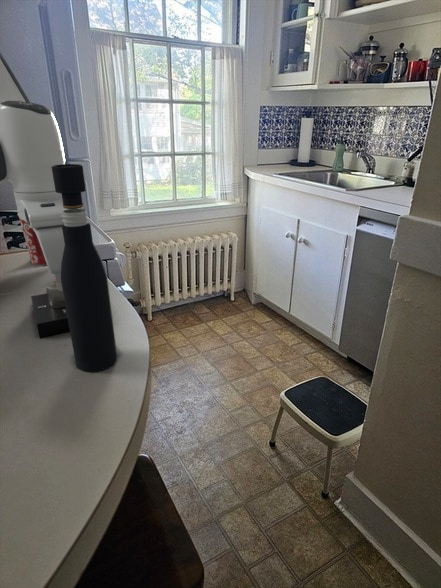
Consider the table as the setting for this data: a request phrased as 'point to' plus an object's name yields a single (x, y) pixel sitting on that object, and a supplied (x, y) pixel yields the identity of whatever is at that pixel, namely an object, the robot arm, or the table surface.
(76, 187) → the black bottle
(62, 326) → the panel
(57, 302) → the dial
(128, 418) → the table surface
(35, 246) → the mug
